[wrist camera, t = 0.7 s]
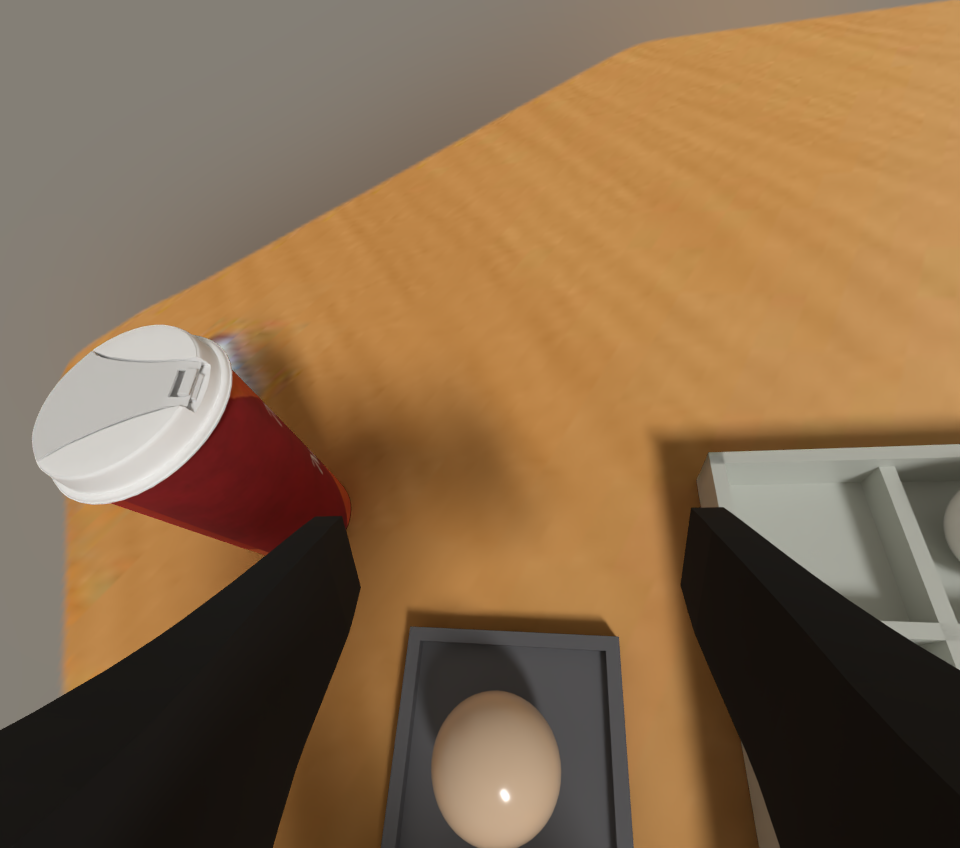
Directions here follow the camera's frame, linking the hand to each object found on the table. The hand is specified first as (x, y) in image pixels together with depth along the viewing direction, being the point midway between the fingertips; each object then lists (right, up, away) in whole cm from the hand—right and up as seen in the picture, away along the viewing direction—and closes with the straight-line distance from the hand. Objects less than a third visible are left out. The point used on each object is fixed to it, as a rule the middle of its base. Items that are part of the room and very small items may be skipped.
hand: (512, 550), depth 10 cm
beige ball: (0, -12, +10) cm, 16 cm away
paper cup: (-11, -3, +19) cm, 23 cm away
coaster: (+1, -12, +11) cm, 16 cm away
